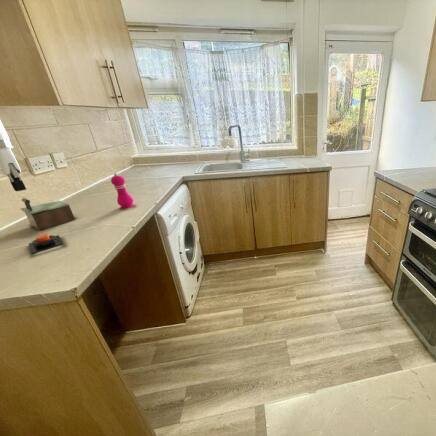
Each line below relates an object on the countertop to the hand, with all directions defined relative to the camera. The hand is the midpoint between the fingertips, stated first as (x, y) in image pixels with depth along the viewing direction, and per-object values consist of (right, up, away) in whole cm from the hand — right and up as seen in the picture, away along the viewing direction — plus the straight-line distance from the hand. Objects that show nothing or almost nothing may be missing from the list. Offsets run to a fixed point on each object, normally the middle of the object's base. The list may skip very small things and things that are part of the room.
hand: (20, 190), depth 102 cm
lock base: (+18, -24, -6) cm, 30 cm away
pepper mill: (+24, -7, +32) cm, 40 cm away
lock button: (+18, -20, -8) cm, 28 cm away
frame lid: (-3, -7, +13) cm, 15 cm away
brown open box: (-2, -14, +17) cm, 22 cm away
